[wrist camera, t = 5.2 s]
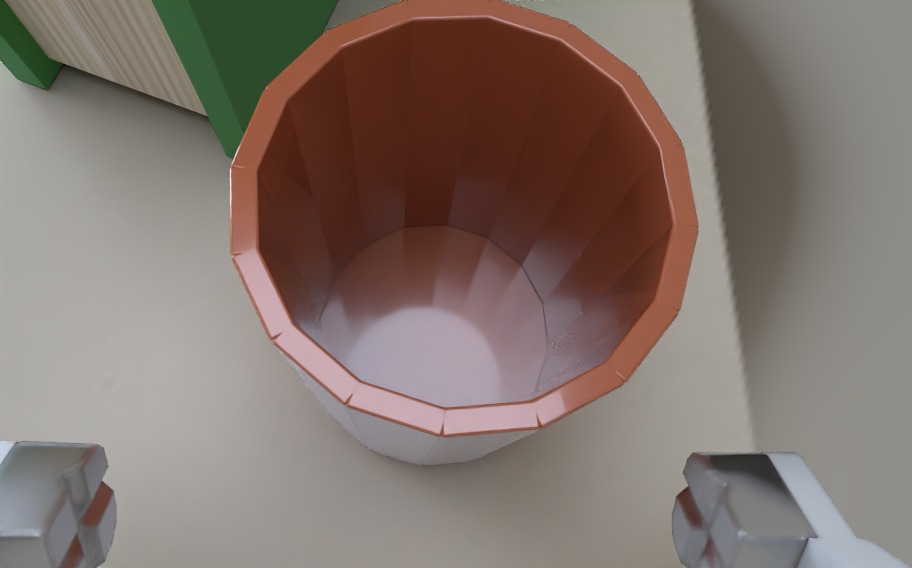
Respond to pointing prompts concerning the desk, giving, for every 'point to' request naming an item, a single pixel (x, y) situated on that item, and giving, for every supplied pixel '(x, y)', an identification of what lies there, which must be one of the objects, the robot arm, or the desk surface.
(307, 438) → the desk surface
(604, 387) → the cup
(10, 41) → the hardback book
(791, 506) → the robot arm
